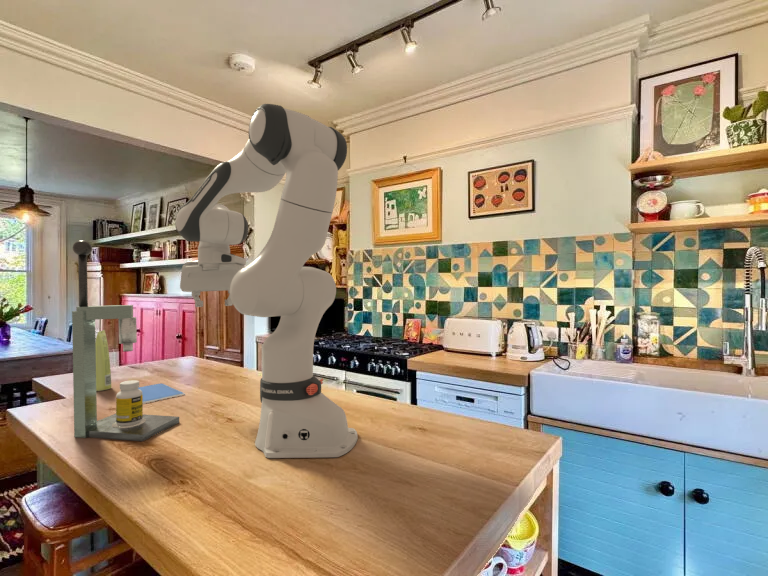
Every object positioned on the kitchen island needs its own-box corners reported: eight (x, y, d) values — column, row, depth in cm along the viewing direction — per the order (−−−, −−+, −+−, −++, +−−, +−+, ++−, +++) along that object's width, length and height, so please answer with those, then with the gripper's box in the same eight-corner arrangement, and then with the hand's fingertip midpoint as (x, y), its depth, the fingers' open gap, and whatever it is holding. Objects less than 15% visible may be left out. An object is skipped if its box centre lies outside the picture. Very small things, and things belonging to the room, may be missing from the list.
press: (179, 422, 101) (176, 243, 100) (139, 442, 88) (136, 237, 87) (117, 418, 104) (114, 244, 103) (71, 437, 91) (67, 239, 91)
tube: (89, 389, 132) (88, 331, 131) (105, 386, 136) (104, 329, 136) (98, 392, 129) (97, 332, 129) (115, 388, 134) (114, 330, 133)
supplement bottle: (133, 426, 94) (132, 385, 94) (110, 426, 94) (110, 385, 94) (147, 418, 99) (147, 379, 99) (126, 418, 99) (125, 379, 99)
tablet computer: (186, 396, 125) (186, 392, 125) (142, 406, 116) (141, 401, 116) (162, 386, 138) (162, 382, 138) (120, 394, 129) (120, 390, 129)
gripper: (175, 259, 117) (174, 307, 115) (240, 256, 113) (239, 304, 112) (189, 263, 123) (188, 307, 122) (251, 259, 119) (251, 305, 118)
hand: (213, 306), depth 117 cm, fingers open, 8 cm apart
